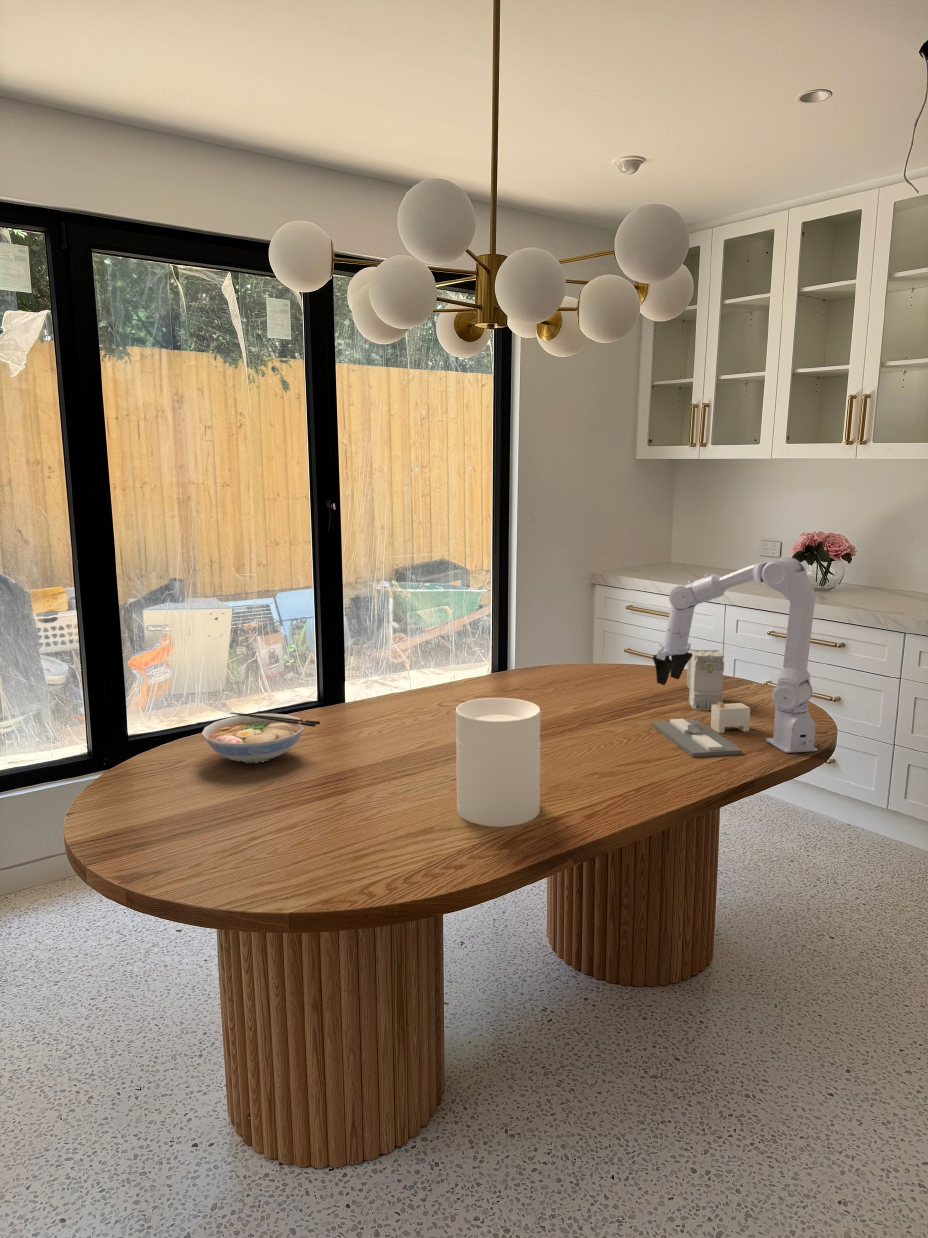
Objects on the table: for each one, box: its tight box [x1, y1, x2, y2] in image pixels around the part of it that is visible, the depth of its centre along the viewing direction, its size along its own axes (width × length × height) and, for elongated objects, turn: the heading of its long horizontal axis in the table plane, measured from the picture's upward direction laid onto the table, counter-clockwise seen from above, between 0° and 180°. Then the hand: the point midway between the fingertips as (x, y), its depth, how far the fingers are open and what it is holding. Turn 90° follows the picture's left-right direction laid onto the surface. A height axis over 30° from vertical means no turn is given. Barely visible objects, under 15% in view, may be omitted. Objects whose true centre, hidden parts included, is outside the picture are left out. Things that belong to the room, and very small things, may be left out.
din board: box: [651, 718, 743, 758], centre depth 198 cm, size 24×12×2 cm, turn 9°
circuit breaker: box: [686, 649, 725, 711], centre depth 229 cm, size 8×14×15 cm, turn 174°
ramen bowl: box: [201, 711, 321, 764], centre depth 187 cm, size 25×23×8 cm
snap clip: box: [688, 724, 703, 733], centre depth 198 cm, size 3×2×1 cm
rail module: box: [710, 701, 751, 734], centre depth 206 cm, size 4×8×7 cm, turn 99°
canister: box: [455, 697, 541, 828], centre depth 156 cm, size 16×16×20 cm
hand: (668, 680), depth 213 cm, fingers open, 7 cm apart
